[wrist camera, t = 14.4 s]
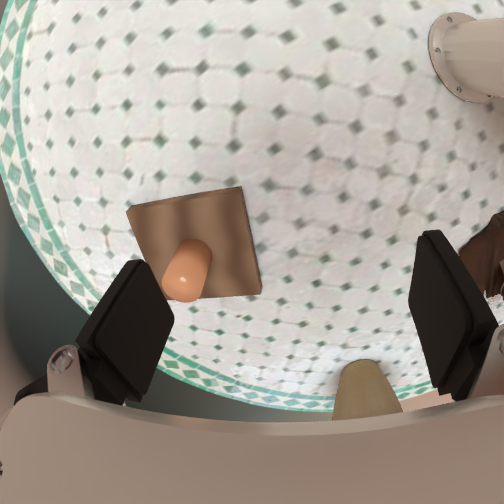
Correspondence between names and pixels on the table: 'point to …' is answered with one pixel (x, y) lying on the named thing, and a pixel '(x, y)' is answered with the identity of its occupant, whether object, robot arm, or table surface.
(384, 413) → the plant pot
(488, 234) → the potted plant
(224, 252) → the walnut board
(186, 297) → the terracotta cylinder
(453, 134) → the table surface
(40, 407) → the robot arm
